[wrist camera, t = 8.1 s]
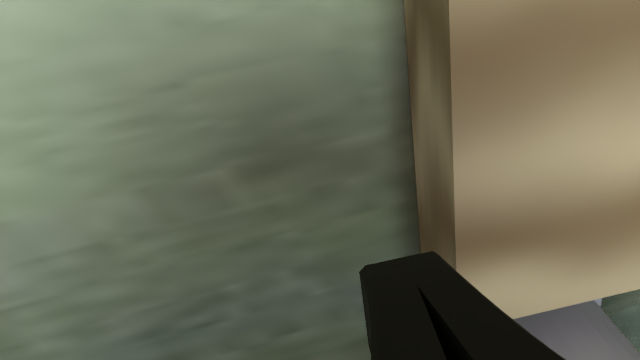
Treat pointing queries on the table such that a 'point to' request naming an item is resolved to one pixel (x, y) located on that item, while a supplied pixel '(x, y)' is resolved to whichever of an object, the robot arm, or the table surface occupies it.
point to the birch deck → (528, 145)
